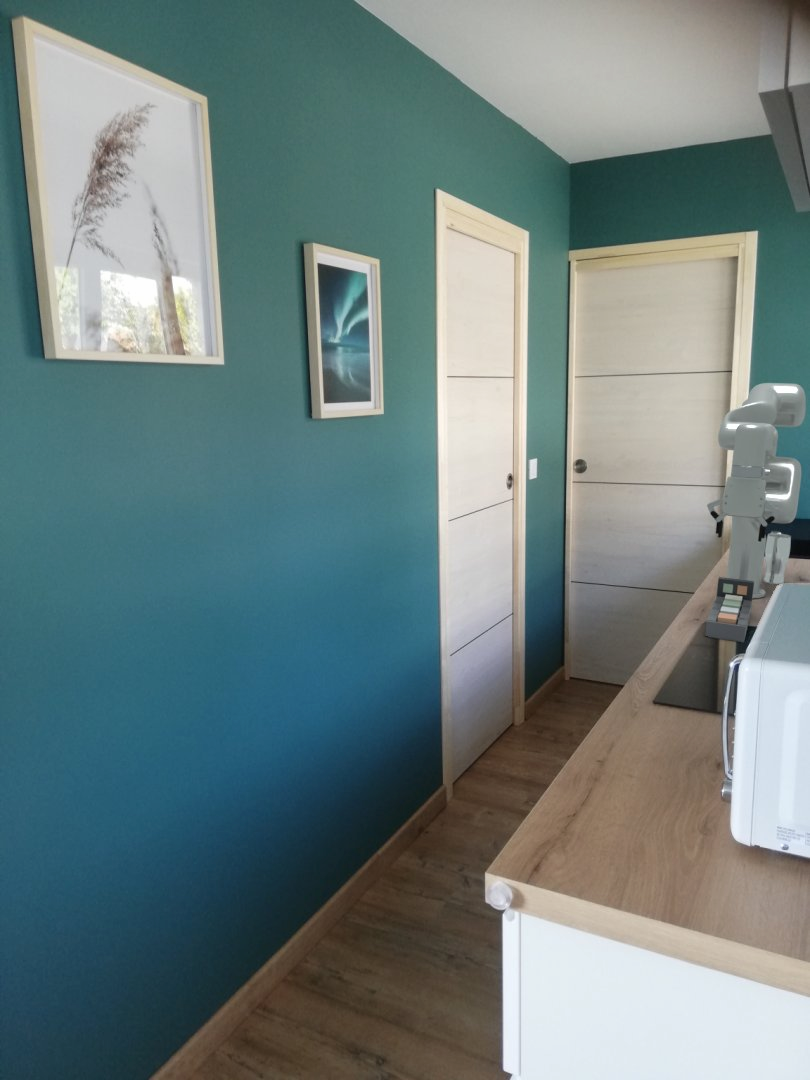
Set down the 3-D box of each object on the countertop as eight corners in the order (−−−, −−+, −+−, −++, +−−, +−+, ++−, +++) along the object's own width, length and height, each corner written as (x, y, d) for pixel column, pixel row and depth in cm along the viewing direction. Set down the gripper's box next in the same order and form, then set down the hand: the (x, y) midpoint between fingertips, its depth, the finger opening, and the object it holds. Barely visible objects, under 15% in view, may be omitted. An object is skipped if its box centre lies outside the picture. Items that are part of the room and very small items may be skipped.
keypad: (715, 608, 224) (719, 576, 222) (750, 612, 220) (754, 581, 218) (705, 636, 200) (708, 601, 198) (743, 642, 196) (747, 607, 194)
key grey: (721, 612, 209) (721, 606, 208) (738, 614, 207) (739, 608, 206) (719, 616, 205) (720, 610, 205) (737, 618, 203) (737, 612, 203)
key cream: (725, 599, 220) (725, 594, 219) (741, 602, 218) (742, 596, 217) (723, 603, 216) (724, 598, 215) (740, 606, 214) (741, 600, 214)
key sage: (723, 605, 214) (723, 600, 214) (740, 608, 212) (740, 602, 212) (721, 610, 210) (722, 604, 210) (739, 612, 209) (739, 606, 208)
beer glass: (788, 586, 248) (794, 538, 244) (764, 584, 249) (769, 537, 246) (782, 580, 254) (788, 534, 251) (759, 578, 256) (764, 532, 252)
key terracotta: (718, 618, 203) (719, 612, 203) (736, 621, 201) (737, 615, 201) (717, 623, 200) (717, 617, 199) (735, 625, 198) (736, 619, 197)
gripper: (784, 474, 204) (776, 540, 207) (712, 469, 211) (705, 533, 215) (784, 476, 197) (775, 544, 201) (709, 471, 205) (702, 537, 208)
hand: (739, 538), depth 208 cm, fingers open, 9 cm apart
